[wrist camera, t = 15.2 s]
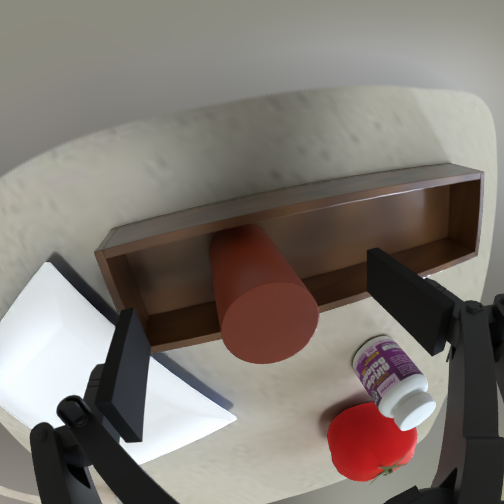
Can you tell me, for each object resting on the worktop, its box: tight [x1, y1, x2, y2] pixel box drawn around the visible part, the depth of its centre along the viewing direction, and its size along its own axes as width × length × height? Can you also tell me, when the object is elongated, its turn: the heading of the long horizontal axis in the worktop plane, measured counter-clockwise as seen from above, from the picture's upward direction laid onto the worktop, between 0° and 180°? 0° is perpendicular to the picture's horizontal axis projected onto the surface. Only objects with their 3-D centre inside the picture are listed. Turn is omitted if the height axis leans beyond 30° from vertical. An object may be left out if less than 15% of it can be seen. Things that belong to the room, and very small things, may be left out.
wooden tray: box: [94, 163, 484, 354], centre depth 21 cm, size 29×8×4 cm, turn 100°
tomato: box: [327, 402, 418, 482], centre depth 29 cm, size 11×13×10 cm
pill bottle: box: [353, 336, 436, 431], centre depth 25 cm, size 5×5×10 cm
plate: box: [0, 262, 237, 467], centre depth 24 cm, size 22×22×2 cm
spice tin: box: [209, 224, 319, 364], centre depth 17 cm, size 5×5×9 cm
